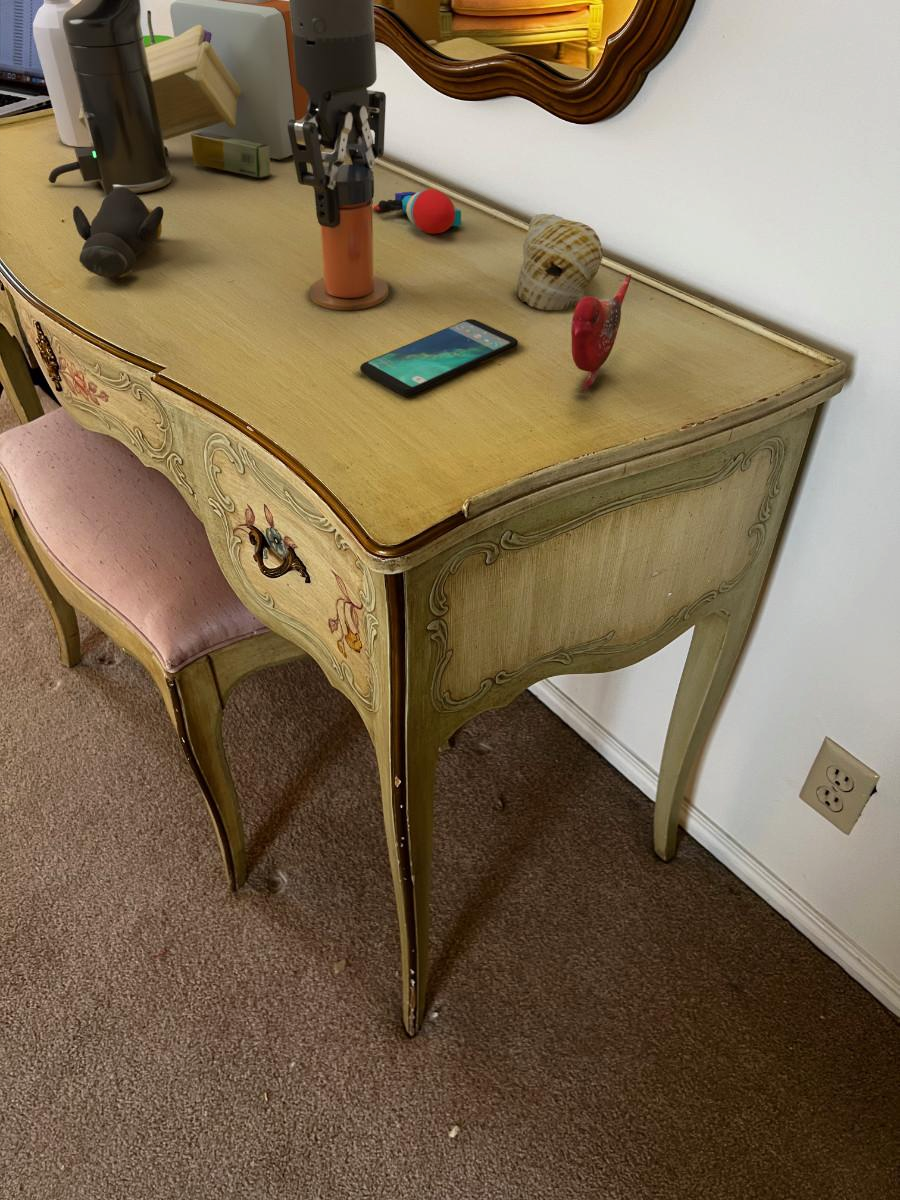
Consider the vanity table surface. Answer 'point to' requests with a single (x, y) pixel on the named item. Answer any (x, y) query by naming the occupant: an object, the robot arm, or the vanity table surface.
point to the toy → (117, 233)
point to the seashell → (557, 262)
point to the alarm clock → (252, 65)
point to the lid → (354, 184)
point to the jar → (349, 252)
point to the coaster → (349, 303)
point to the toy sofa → (190, 84)
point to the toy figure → (425, 209)
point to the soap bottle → (59, 71)
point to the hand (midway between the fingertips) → (345, 215)
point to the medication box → (231, 154)
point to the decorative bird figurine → (595, 331)
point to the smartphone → (438, 356)
